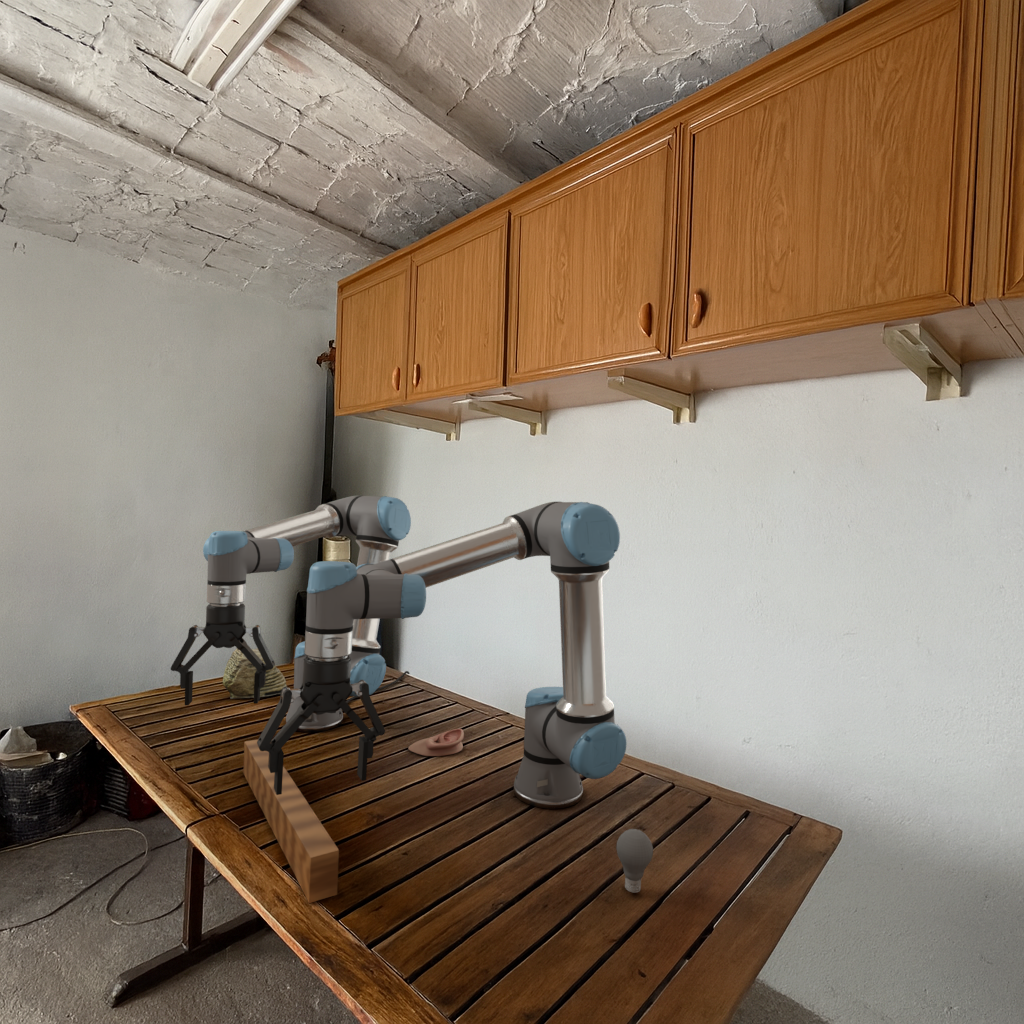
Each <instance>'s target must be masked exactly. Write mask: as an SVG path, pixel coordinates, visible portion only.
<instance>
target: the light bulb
mask: <svg viewBox="0 0 1024 1024" xmlns="http://www.w3.org/2000/svg"><path fill="white" fill-rule="evenodd" d="M615 849H616V854H617V857H618V859H619V861H620V863H621V865H622V867H623V873H624V874H623V875H624V876H625V878H624V888H625V890H627V891H628V892H630V893H634V894H635V893H639V892H640V891H641V889H642V887H641V886H642V879H643V877H644V875H645V871H646V868H647V867H648V866H649V864H650V863H651V861H652V859H653V855H654V847H653V843H652V841H651V838H649V836H648V835H647V834H646V833H645V832H643V831H642V830H641V829H636V828H629V829H627V830H625V831H623V832H622V833H621V834H620V835H619V837H618V839H617V841H616V847H615Z"/></svg>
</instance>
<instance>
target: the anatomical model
mask: <svg viewBox="0 0 1024 1024" xmlns="http://www.w3.org/2000/svg"><path fill="white" fill-rule="evenodd" d="M464 738H465V733H464V730H463V729H462V728H453V729H450V730H447V731H443V732H441V733H438V734H435V735H433V736H431V737H427V738H422V739H420V740H417V741H414V743H412V744H410V745H409V746H408V750H409V751H410V752H412V753H414V754H417V755H420V756H424V757H440V756H449V755H453V754H458V753H459V752H461V751H463V748H464V746H463V742H462V741H463V740H464Z"/></svg>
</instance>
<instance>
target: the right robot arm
mask: <svg viewBox="0 0 1024 1024" xmlns="http://www.w3.org/2000/svg"><path fill="white" fill-rule="evenodd" d="M620 543H621V532H620V528H619V525H618V522H617V520H616V518H615V517H614V516H613V514H612V513H611V512H610V511H609V510H608V509H607V508H605V507H604V506H602V505H599V504H595V503H590V502H588V501H549V502H545V503H542V504H539V505H537V506H533V507H531V508H528V509H525V510H522V511H519V512H517V513H515V514H510V515H508V516H506V517H504V519H503V521H502V523H499V524H496V525H493V526H490V527H487V528H483V529H480V530H477V531H474V532H471V533H467V534H464V535H462V536H457V537H455V538H451V539H449V540H446V541H442V542H440V543H436V544H433V545H429V546H427V547H423V548H421V549H418V550H414V551H411V552H408V553H405V554H402V555H399V556H396V557H393V558H390V560H386V561H383V562H380V563H377V564H362V565H359V566H357V565H356V564H355V563H353V562H349V561H337V560H322V561H316V562H314V563H312V565H311V566H310V568H309V573H308V584H307V588H306V617H305V632H304V634H305V635H304V641H305V648H304V653H305V654H306V655H307V656H306V657H305V659H304V666H303V683H302V686H301V688H300V689H294V688H290V687H288V686H285V687H283V688H282V691H281V693H280V697H279V701H278V703H277V705H276V706H275V709H274V710H273V711H272V714H271V716H270V717H269V719H268V720H267V723H266V724H265V726H264V728H263V730H262V732H261V733H260V735H259V737H258V741H257V744H258V747H259V749H260V751H268V752H269V761H268V768H269V770H270V773H275V775H274V790H275V792H276V795H280V794H282V777H283V766H284V760H285V759H284V756H285V755H284V754H285V752H284V750H283V749H282V748H283V747H284V746H285V745H286V744H287V742H288V741H289V740H290V739H291V738H292V736H293V735H294V734H295V733H296V732H297V731H296V730H297V729H298V728H299V727H300V725H301V724H302V723H303V722H304V721H305V720H306V719H308V718H309V717H310V715H311V714H312V713H315V714H316V715H320V714H324V713H336V711H338V710H339V709H340V708H341V709H342V712H343V713H345V715H346V716H347V717H348V718H349V719H350V721H352V723H353V724H354V725H355V726H356V727H357V728H358V729H359V731H360V732H361V733H362V734H363V735H364V736H363V735H362V736H359V737H358V755H357V771H356V772H357V773H356V774H357V776H358V778H359V779H360V780H361V781H362V782H363V781H367V774H368V773H367V771H368V759H372V758H373V756H374V742H376V740H377V737H379V736H383V735H385V734H386V729H385V727H384V725H383V723H382V720H381V718H380V715H379V713H378V712H377V711H378V710H377V709H376V707H375V705H374V702H373V700H372V698H371V695H369V685H368V684H367V683H366V682H365V681H364V680H360V681H359V682H358V683H354V684H351V683H350V673H351V658H350V657H349V656H348V655H350V654H351V652H352V631H353V621H354V619H382V620H383V619H401V620H405V619H409V618H418V617H419V616H421V615H422V614H423V613H424V610H425V608H426V603H427V589H426V588H429V587H432V586H435V585H438V584H441V583H445V582H447V581H450V580H452V579H455V578H459V577H461V576H465V575H467V574H471V573H473V572H475V571H478V570H481V569H482V570H483V569H484V568H485V569H486V568H487V567H490V566H493V565H496V564H498V563H501V562H505V561H507V560H510V559H513V558H514V559H515V560H517V561H522V560H526V559H528V558H532V557H533V558H534V557H542V556H543V557H549V560H550V563H549V565H550V572H551V574H552V575H554V577H556V578H557V580H558V596H559V617H560V618H559V620H560V621H559V622H560V644H561V645H560V647H561V650H560V651H561V668H562V669H561V673H562V675H561V676H562V686H542V687H536V688H532V689H531V690H529V691H528V692H527V694H526V698H525V702H524V703H525V705H524V732H523V733H524V734H523V754H522V755H523V756H522V759H521V762H520V764H519V768H518V771H517V774H516V775H515V777H514V782H513V793H514V796H515V797H516V798H517V799H518V800H520V801H521V802H523V803H524V804H527V805H530V806H531V807H532V806H533V807H536V808H542V809H551V810H552V809H554V810H555V809H563V808H569V807H573V806H574V805H577V804H578V803H580V801H582V799H583V796H584V795H583V794H584V787H583V781H582V779H581V776H583V777H584V778H587V779H590V780H599V779H602V778H605V777H607V776H608V775H609V776H610V775H611V774H612V773H613V772H614V771H615V770H616V769H617V767H618V766H619V765H620V764H621V763H622V761H623V759H624V757H625V754H626V751H627V742H628V741H627V736H626V734H625V732H624V730H623V729H622V727H621V726H620V725H618V724H617V723H616V722H615V705H614V704H615V703H614V701H612V700H611V698H609V697H608V696H607V684H606V683H607V682H606V655H605V654H606V653H605V629H604V628H605V627H604V626H605V624H604V623H605V622H604V596H603V594H604V593H603V578H604V576H605V575H607V573H609V572H610V561H612V560H613V558H614V557H615V553H616V552H618V550H619V547H620ZM352 691H354V692H355V694H356V695H357V696H360V697H359V699H360V701H361V703H362V705H363V707H364V709H365V712H366V714H367V716H368V718H369V721H370V722H371V725H372V727H370V728H369V727H368V726H367V724H366V723H365V721H363V720H362V719H361V717H360V716H359V715H358V714H357V712H355V710H353V708H352V707H351V706H350V705H349V703H346V701H347V700H348V699H349V698H350V697H351V696H350V695H351V693H352ZM299 696H300V697H301V699H302V700H303V703H302V704H301V705H300V706H299V707H298V709H297V711H296V712H295V714H294V715H293V716H292V717H291V718H290V719H289V721H288V722H287V723H286V722H285V724H284V725H283V726H282V728H281V729H279V728H280V726H281V723H282V722H283V720H284V718H285V717H286V715H287V713H288V710H289V707H290V704H291V703H293V702H294V701H295V699H296V698H297V697H299ZM278 729H279V731H278ZM277 731H278V732H277ZM580 775H581V776H580Z"/></svg>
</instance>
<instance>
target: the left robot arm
mask: <svg viewBox="0 0 1024 1024" xmlns="http://www.w3.org/2000/svg"><path fill="white" fill-rule="evenodd" d="M411 526H412V517H411V512H410V510H409V509H408V505H406V503H405V502H404V501H403V500H402V499H400V498H398V497H393V496H387V495H384V496H380V495H379V496H378V495H360V494H359V495H351V496H346V497H343V498H339V499H336V500H332V501H329V502H326V503H322V504H319V505H318V506H317V507H316V508H315V510H311V511H308V512H304V513H300V514H297V515H293V516H290V517H286V518H284V519H279V520H275V521H273V522H268V523H266V524H262V525H259V526H254V527H251V528H248V529H244V530H216V531H213V532H211V533H210V535H209V536H208V538H207V539H206V540H205V542H204V544H203V547H202V553H203V557H204V559H205V560H206V561H207V583H206V602H207V604H208V605H207V606H206V608H205V610H206V611H205V612H206V613H205V626H204V627H203V626H198V625H197V624H193V625H192V626H190V627H189V629H188V634H187V638H186V640H185V642H184V643H183V645H182V647H181V649H180V650H179V652H178V654H177V655H176V657H175V659H174V661H173V663H172V665H171V666H170V671H171V672H176V673H179V676H180V677H179V687H180V689H182V690H184V706H189V705H190V704H191V703H192V702H193V688H194V687H193V686H194V685H193V684H194V670H190V669H191V668H192V667H193V666H194V665H195V664H196V663H197V662H198V661H199V659H201V657H203V655H204V654H206V652H207V651H208V650H209V649H210V648H211V647H214V648H215V649H221V648H227V649H232V648H234V647H235V648H236V649H238V650H240V651H241V652H242V653H243V654H244V655H245V657H246V658H247V659H248V660H249V661H250V662H251V663H252V665H253V666H254V667H255V668H256V669H257V671H256V672H255V677H254V697H253V705H257V704H259V702H260V699H261V697H260V687H263V686H264V685H265V679H266V671H267V670H271V669H273V667H274V665H276V662H275V661H274V658H273V656H272V654H271V652H270V650H269V648H268V646H267V644H266V642H265V640H264V638H263V637H262V632H261V626H260V625H259V624H256V625H254V626H246V623H245V621H246V619H245V618H246V616H245V615H246V605H245V604H244V602H245V601H246V594H247V593H246V589H247V575H250V574H259V573H272V572H273V573H277V572H279V571H280V572H281V571H285V570H287V569H290V567H291V566H292V564H293V562H294V560H295V559H294V558H295V549H294V547H297V546H299V545H302V544H306V543H308V542H311V541H314V540H317V539H320V538H323V537H324V538H328V539H330V538H334V537H339V536H351V537H355V542H356V544H357V545H358V547H359V551H358V556H357V557H358V558H357V562H356V563H357V564H356V567H357V566H359V565H362V564H377V563H380V562H383V561H386V560H390V559H391V557H392V553H393V552H395V551H396V550H397V549H398V548H399V543H400V541H402V540H404V539H405V538H406V537H407V535H409V533H410V530H411ZM380 621H381V620H380V619H354V621H353V631H352V652H351V654H350V655H348V656H349V657H350V658H351V673H350V683H351V684H354V683H358V682H359V681H360V680H364V681H365V682H366V683H367V684H368V685H369V696H371V695H373V694H374V693H375V692H379V691H381V690H383V689H386V688H388V687H390V686H392V685H394V684H396V683H398V682H399V681H400V680H401V679H402V678H404V677H405V676H406V674H407V675H411V674H410V672H409V670H406V671H404V672H403V673H402V675H400V676H399V677H398V678H397V679H395V680H394V681H392V682H389V683H388V684H385V685H383V686H381V685H382V683H383V681H384V679H385V675H386V673H387V663H386V660H385V658H384V657H383V656H382V655H381V654H380V652H381V645H380V643H379V642H378V640H377V638H378V631H379V627H380V626H379V625H380ZM201 634H203V636H204V637H205V638H206V639H207V640H206V642H205V643H204V644H203V645H202V646H201V647H200V648H199V649H198V650H197V651H196V652H195V654H194V655H193V656H192V657H190V659H189V660H188V661H187V662H186V663H185V664H183V662H184V660H185V659H186V657H187V655H188V653H189V652H190V650H191V648H192V646H193V645H194V643H195V641H196V639H197V638H198V637H200V636H201ZM246 634H248V635H249V637H251V638H252V640H253V642H254V644H255V646H256V649H257V648H258V650H259V652H260V654H261V656H262V658H263V660H264V662H265V664H264V663H263V662H262V661H261V659H260V658H259V657H258V656H257V655H256V654H255V653H254V651H253V650H252V649H253V648H251V647H250V646H249V645H248V643H247V641H246V640H245V638H243V637H244V636H245V635H246ZM304 648H305V640H304V641H302V642H299V643H298V644H297V645H296V647H295V652H294V653H295V654H294V657H293V659H294V660H293V662H294V663H293V665H294V666H293V689H300V688H301V686H302V683H303V666H304V659H305V657H306V656H307V655H306V654H305V653H304ZM358 698H360V696H357V695H356V694H355V692H354V691H352V693H351V695H350V696H349V698H348V699H347V700H346V701H345V702H346V703H347V704H349V703H350V702H351V701H353V700H355V699H358ZM302 703H303V700H302V699H301V697H300V696H299V697H297V698H296V699H295V701H294V702H293V703H290V707H289V709H288V711H287V713H286V715H285V724H286V723H287V722H288V721H289V719H290V718H291V717H292V716H293V715H294V714H295V712H296V711H297V709H298V707H299V706H300V705H301V704H302ZM343 713H344V711H343V710H342V709H341V708H340V709H339V710H338V711H336V713H324V714H320V715H316V714H315V713H312V714H311V715H310V717H309V718H308V719H306V720H305V721H304V722H303V723H302V724H301V725H300V727H299V728H298V729H297V730H296V731H295V732H301V733H316V732H325V731H329V730H332V729H335V728H337V727H339V726H340V725H342V723H343V722H344V714H343Z"/></svg>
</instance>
